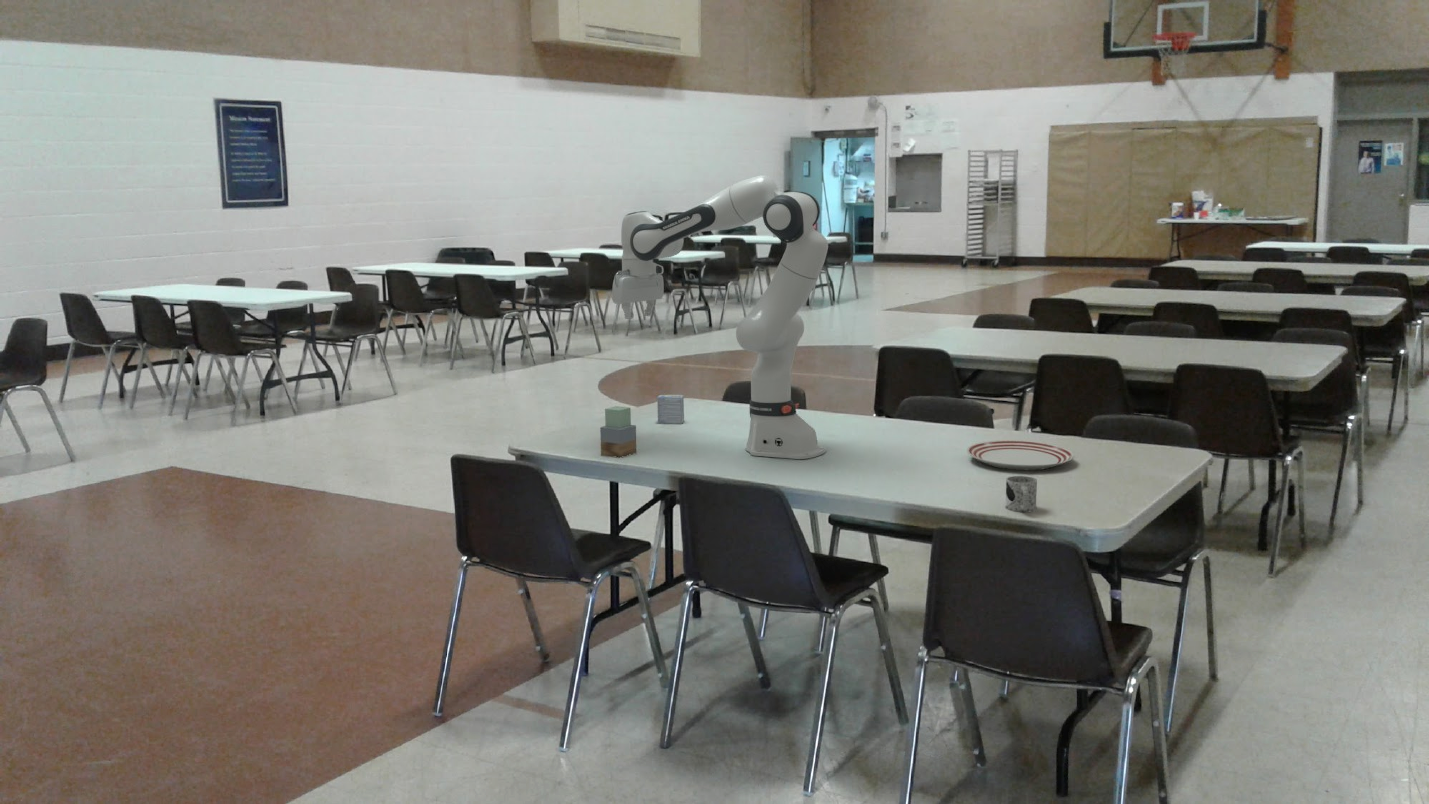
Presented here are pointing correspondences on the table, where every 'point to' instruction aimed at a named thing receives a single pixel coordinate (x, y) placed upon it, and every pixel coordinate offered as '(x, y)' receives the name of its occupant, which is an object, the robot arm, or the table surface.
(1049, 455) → the dinner plate
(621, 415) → the sage block
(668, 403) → the medicine box
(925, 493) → the table surface
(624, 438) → the tower top
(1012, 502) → the mug
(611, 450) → the tower base
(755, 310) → the robot arm
